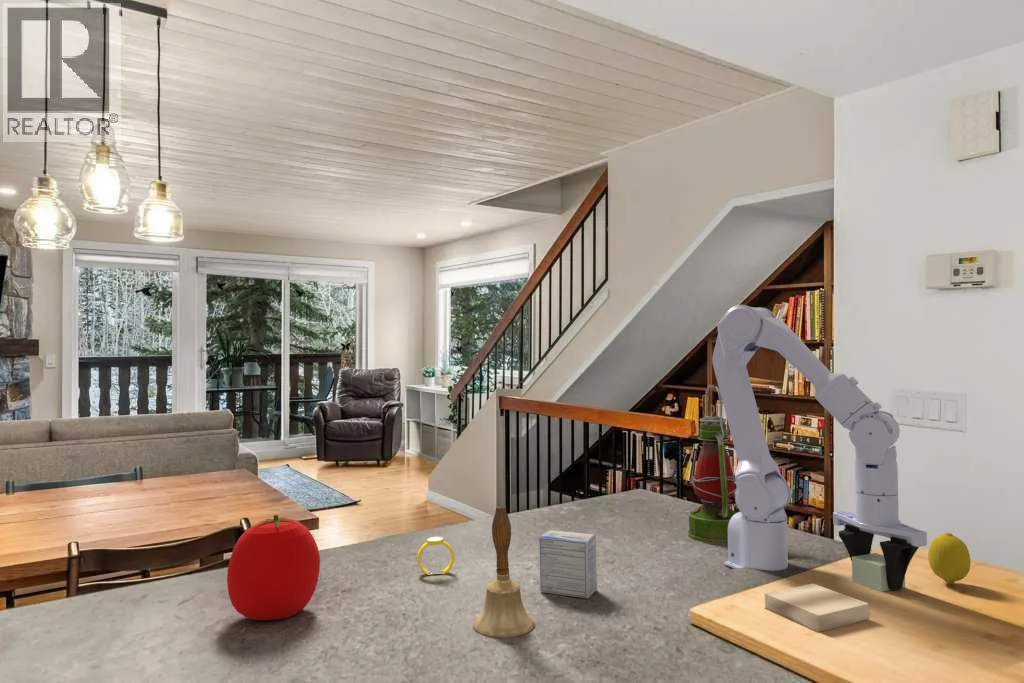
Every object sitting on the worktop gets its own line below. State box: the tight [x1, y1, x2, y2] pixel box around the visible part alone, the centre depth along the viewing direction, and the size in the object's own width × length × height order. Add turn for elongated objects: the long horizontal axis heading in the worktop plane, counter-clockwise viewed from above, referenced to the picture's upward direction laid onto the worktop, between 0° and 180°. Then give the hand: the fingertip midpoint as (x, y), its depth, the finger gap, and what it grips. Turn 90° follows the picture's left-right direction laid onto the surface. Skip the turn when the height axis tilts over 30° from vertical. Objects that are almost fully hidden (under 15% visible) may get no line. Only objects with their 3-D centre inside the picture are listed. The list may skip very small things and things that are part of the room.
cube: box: [851, 552, 906, 593], centre depth 104 cm, size 5×5×5 cm
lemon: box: [927, 532, 972, 585], centre depth 107 cm, size 6×6×8 cm
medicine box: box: [538, 529, 598, 599], centre depth 106 cm, size 8×4×9 cm, turn 65°
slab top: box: [764, 583, 870, 633], centre depth 92 cm, size 9×9×2 cm
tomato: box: [226, 514, 321, 621], centre depth 98 cm, size 13×11×14 cm
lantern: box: [687, 384, 738, 545], centre depth 137 cm, size 14×11×30 cm
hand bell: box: [472, 505, 535, 639], centre depth 93 cm, size 8×8×16 cm
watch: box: [416, 536, 455, 575], centre depth 115 cm, size 6×3×6 cm, turn 102°
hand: (878, 583), depth 104 cm, fingers closed on cube, 5 cm apart
